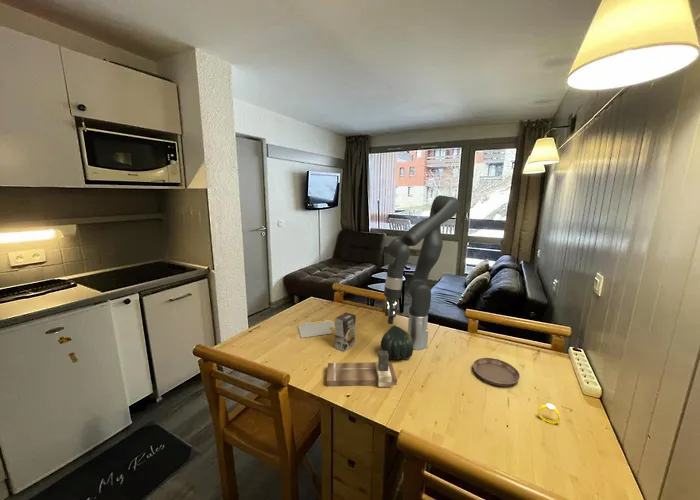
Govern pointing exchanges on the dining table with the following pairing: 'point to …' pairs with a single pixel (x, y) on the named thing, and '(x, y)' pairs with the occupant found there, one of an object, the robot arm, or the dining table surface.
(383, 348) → the squash
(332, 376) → the walnut board
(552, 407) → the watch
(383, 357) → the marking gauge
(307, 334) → the paper stack
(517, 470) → the dining table surface
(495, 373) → the plant saucer
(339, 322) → the coffee box
